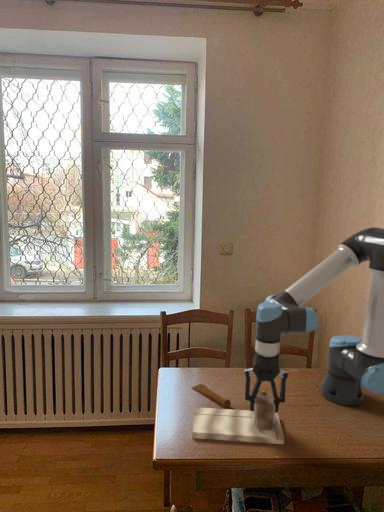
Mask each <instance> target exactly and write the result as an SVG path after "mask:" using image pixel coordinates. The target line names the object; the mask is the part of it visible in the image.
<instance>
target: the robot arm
mask: <svg viewBox="0 0 384 512" xmlns="http://www.w3.org/2000/svg"><path fill="white" fill-rule="evenodd" d="M367 261H368V262H369V265H368V270H370V272H371V274H372V278H371V283H370V289H369V294H368V302H367V307H366V313H365V319H364V326H363V332H362V338H361V337H359V336H355V335H354V336H353V335H346V334H345V335H344V334H343V335H334V336H332V337H331V338H330V341H329V344H328V345H329V346H328V358H327V370H326V375H325V376H324V378H323V381H322V383H321V387H320V393H321V395H322V397H324V398H325V399H326V400H328V401H329V402H332V403H335V404H338V405H341V406H349V407H350V406H357V405H359V404H360V405H361V404H362V403H363V401H364V391H363V388H364V389H365V390H368V391H369V392H371V393H373V394H383V393H384V228H382V227H381V228H380V227H374V226H373V227H368V228H364V229H362V230H359V231H358V232H356V233H353V234H351V235H350V236H349V237H347V238H346V239H345V240H343V241H342V242H341V243H340V244H338V245H337V249H336V250H335V251H334V252H332V253H331V254H330V255H329V256H327V257H326V258H325V259H324V260H322V261H321V262H319V263H318V264H317V265H316V266H314V267H313V268H311V270H309V271H307V272H306V273H305V274H304V275H303V276H302V277H300V278H299V279H298V280H295V282H294V283H293V284H291V285H290V286H289V287H287V288H286V289H284V290H283V291H282V292H281V293H280V294H271V295H268V296H267V297H266V298H265V299H264V302H261V303H260V304H259V305H258V306H257V311H256V317H255V318H256V322H255V325H256V329H255V346H254V347H255V348H254V351H255V352H254V362H253V366H252V367H251V368H247V367H246V368H244V374H245V387H244V399H245V401H247V402H249V411H253V422H256V410H257V402H256V396H257V393H258V391H259V390H260V387H261V385H262V382H268V383H270V386H271V391H272V392H271V393H272V397H273V403H274V417H275V413H278V414H279V405H280V403H282V404H283V403H285V402H286V386H287V385H286V383H287V382H286V381H287V379H288V376H289V373H288V371H287V370H286V369H284V370H282V369H281V368H280V352H281V351H280V350H281V338H282V337H281V336H282V334H283V335H284V334H295V333H296V334H298V333H307V332H308V333H309V332H314V331H316V330H317V328H318V327H319V326H318V325H319V317H318V316H319V315H318V313H317V311H316V310H315V309H314V308H312V307H305V306H304V307H301V306H302V305H304V304H305V303H307V301H309V300H310V299H311V298H313V297H314V296H315V295H316V294H318V293H320V291H322V290H323V289H325V288H326V287H327V286H328V285H330V284H331V283H332V282H334V281H335V280H337V278H338V277H340V276H341V275H342V274H344V273H345V272H346V271H348V270H349V269H351V267H358V266H359V265H360V264H361V263H364V262H367ZM253 374H254V375H255V376H256V378H255V382H254V385H253V388H252V391H250V390H251V377H252V376H253ZM278 375H279V377H280V385H279V388H280V389H279V396H278V393H277V391H278V390H277V386H276V382H275V379H276V378H277V376H278ZM250 392H251V394H250ZM361 402H362V403H361ZM274 417H273V424H274Z"/></svg>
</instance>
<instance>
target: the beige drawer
mask: <svg viewBox="0 0 384 512" xmlns="http://www.w3.org/2000/svg"><path fill="white" fill-rule="evenodd" d="M273 400H274V398H273V394H272V392H271V391H265V390H262V391H259V390H258V393H257V396H256V402H257V410H256V428H262V429H273V417H274V403H273Z"/></svg>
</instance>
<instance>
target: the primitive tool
mask: <svg viewBox="0 0 384 512" xmlns="http://www.w3.org/2000/svg"><path fill="white" fill-rule="evenodd" d="M191 389H192V390H193V391H195V392H197V393H199V394H201V395H202V396H204V397H206V398H208V399H210V400H211V401H213V402H216V403H217V404H218V405H220V406H221V407H222V409H230V407H231V403H232V402H231V400H230V399H226V398H224V397H222V396H221V395H219V394H217V393H215V392H214V391H212V390H211V389H209V387H207V385H206V384H202V383H200V384H198V385H195V386H192V387H191Z"/></svg>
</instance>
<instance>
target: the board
mask: <svg viewBox="0 0 384 512" xmlns="http://www.w3.org/2000/svg"><path fill="white" fill-rule="evenodd" d="M194 407H195V408H194V414H193V423H192V434H191V439H201V440H203V439H204V440H215V441H216V440H217V441H229V442H243V443H245V442H246V443H257V444H258V443H259V444H260V443H261V444H262V443H263V444H273V445H274V444H277V445H285V436H284V431H283V429H282V424H281V422H280V417H279V412H278V413H275V417H274V424H273V429H262V428H256V422H253V411H251V410H247V409H245V410H243V409H230V408H228V409H224V408H213V407H196V406H194Z"/></svg>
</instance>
